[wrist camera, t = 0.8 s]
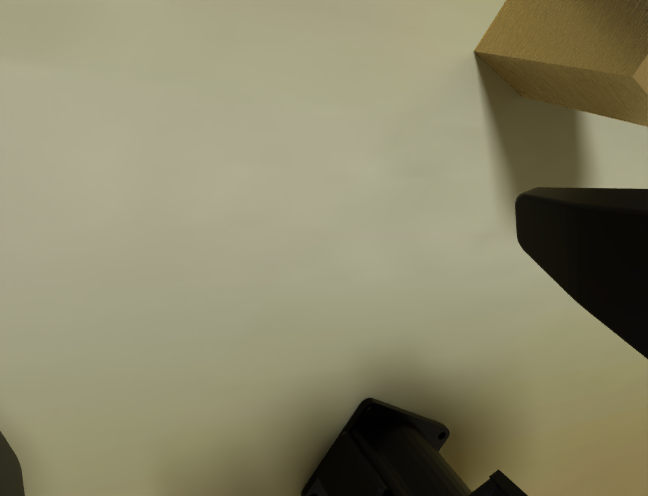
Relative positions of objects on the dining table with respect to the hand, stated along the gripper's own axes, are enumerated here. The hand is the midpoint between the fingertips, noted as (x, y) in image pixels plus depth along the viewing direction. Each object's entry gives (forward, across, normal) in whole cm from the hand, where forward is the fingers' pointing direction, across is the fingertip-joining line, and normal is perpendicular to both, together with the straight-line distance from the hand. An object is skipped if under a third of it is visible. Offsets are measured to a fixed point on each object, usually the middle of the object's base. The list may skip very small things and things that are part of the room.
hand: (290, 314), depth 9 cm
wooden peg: (+14, -16, +1) cm, 21 cm away
